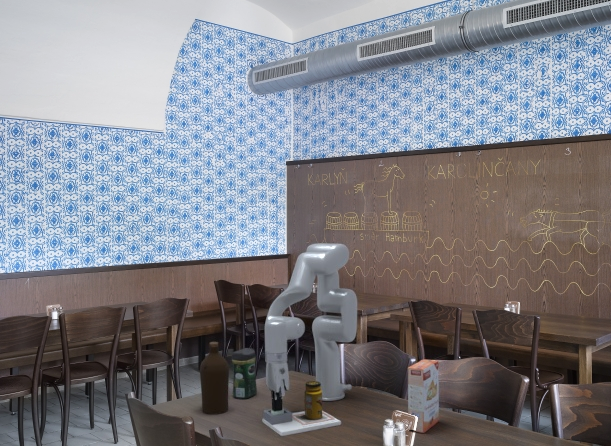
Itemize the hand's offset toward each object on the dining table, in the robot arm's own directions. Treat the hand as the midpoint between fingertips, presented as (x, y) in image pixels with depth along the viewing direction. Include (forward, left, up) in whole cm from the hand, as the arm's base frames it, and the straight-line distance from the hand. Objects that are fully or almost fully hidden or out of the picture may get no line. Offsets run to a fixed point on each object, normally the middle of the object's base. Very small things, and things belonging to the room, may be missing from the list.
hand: (277, 410), depth 214 cm
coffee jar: (-2, -37, -5) cm, 37 cm away
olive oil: (+14, -25, -5) cm, 29 cm away
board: (-7, +4, -5) cm, 9 cm away
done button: (0, 0, -3) cm, 3 cm away
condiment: (-11, +4, -3) cm, 12 cm away
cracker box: (-42, +27, -5) cm, 50 cm away
